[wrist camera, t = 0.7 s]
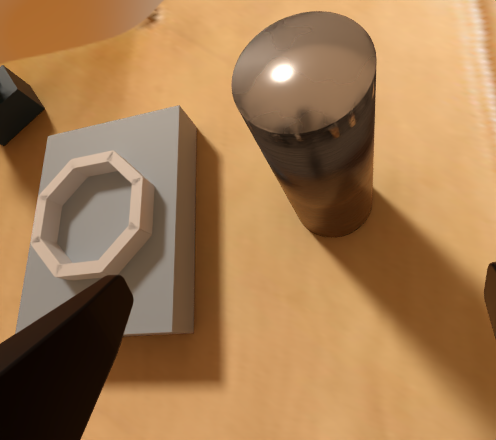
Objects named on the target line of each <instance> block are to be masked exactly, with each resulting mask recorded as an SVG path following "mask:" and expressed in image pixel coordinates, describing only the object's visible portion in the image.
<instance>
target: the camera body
mask: <svg viewBox="0 0 496 440" xmlns="http://www.w3.org/2000/svg"><path fill="white" fill-rule="evenodd" d="M196 132H197V127H196V126H195V124H194V123H193V122H192V121H191V119H190V118H189V117H188V116H187V114H186V113H185V112H184V111H183V109H182V108H181V107H180V106H174V107H170V108H166V109H162V110H157V111H153V112H149V113H145V114H140V115H136V116H132V117H128V118H123V119H119V120H115V121H111V122H106V123H102V124H98V125H94V126H89V127H85V128H81V129H76V130H72V131H68V132H64V133H59V134H55V135H51V136H48V139H47V145H46V151H45V157H44V163H43V169H42V176H41V182H40V188H39V194H38V200H37V206H36V212H35V218H34V224H33V230H32V236H31V242H30V248H29V254H28V260H27V266H26V272H25V278H24V284H23V290H22V296H21V302H20V308H19V314H18V320H17V326H16V332H15V334H16V333H18V332H19V331H21V330H22V329H24V328H25V327H27V326H28V325H30V324H32V323H33V322H35V321H36V320H38V319H39V318H41V317H42V316H44V315H46V314H47V313H49V312H50V311H52V310H53V309H55V308H56V307H58V306H59V305H61V304H63V303H64V302H66V301H67V300H69V299H70V298H72V297H73V296H75V295H77V294H78V293H80V292H81V291H83V290H84V289H86V288H87V287H89V286H91V285H92V284H94V283H95V282H97V281H98V280H100V279H101V278H103V277H104V276H106V275H117V274H118V275H121V276H123V277H124V279H125V281H126V283H127V285H128V287H129V288H130V290H131V292H132V294H133V298H134V302H133V307H132V310H131V313H130V316H129V319H128V322H127V325H126V328H125V332H124V335H123V336H144V335H165V334H185V333H194V276H195V204H196Z"/></svg>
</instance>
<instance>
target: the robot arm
mask: <svg viewBox="0 0 496 440" xmlns="http://www.w3.org/2000/svg"><path fill="white" fill-rule="evenodd" d="M484 299H485V303H486V307H487V310H488V314H489V317H490V321H491V324H492V328H493V331H494V335H495V339H496V262H492V263H490V264H489V266H488V269H487V275H486V282H485V288H484ZM133 302H134V298H133V294H132V292H131V290H130V288H129V287H128V285H127V283H126V281H125V279H124V277H123V276H121V275H118V274H117V275H106V276H104V277H103V278H101V279H100V280H98V281H97V282H95V283H94V284H92V285H91V286H89V287H87V288H86V289H84V290H83V291H81V292H80V293H78V294H77V295H75V296H73V297H72V298H70V299H69V300H67V301H66V302H64V303H63V304H61V305H59V306H58V307H56V308H55V309H53V310H52V311H50V312H49V313H47V314H46V315H44V316H42V317H41V318H39V319H38V320H36V321H35V322H33V323H32V324H30V325H28V326H27V327H25V328H24V329H22V330H21V331H19V332H18V333H16V334H15V335H13V336H11V337H10V338H8V339H7V340H5V341H4V342H2V343H1V344H0V440H80V439H81V437H82V435H83V432H84V430H85V428H86V426H87V423H88V421H89V419H90V416H91V414H92V412H93V409H94V407H95V405H96V402H97V400H98V398H99V395H100V393H101V391H102V388H103V386H104V384H105V381H106V379H107V377H108V374H109V372H110V370H111V367H112V365H113V363H114V360H115V358H116V355H117V353H118V350H119V347H120V344H121V341H122V338H123V335H124V332H125V328H126V325H127V322H128V319H129V316H130V313H131V310H132V307H133Z"/></svg>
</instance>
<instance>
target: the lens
mask: <svg viewBox="0 0 496 440" xmlns="http://www.w3.org/2000/svg"><path fill="white" fill-rule="evenodd" d="M375 91H376V51H375V48H374V44H373V42H372V40H371V38H370V36H369V35H368V33H367V32H366V31H365V30H364V29H363V28H362V27H361V26H360V25H359V24H358V23H356V22H355V21H354V20H352V19H350V18H348V17H346V16H343V15H340V14H336V13H332V12H322V11H316V12H305V13H300V14H296V15H292V16H289V17H286V18H284V19H282V20H279V21H277V22H275V23H274V24H272V25H270V26H268V27H267V28H265V29H264V30H263V31H261V32H260V33H259V34H258V35H257V36H255V37H254V38H253V39H252V40H251V41H250V42H249V44H248V45H247V46H246V47H245V49H244V50H243V52H242V53H241V55H240V56H239V59H238V61H237V63H236V65H235V68H234V71H233V76H232V94H233V98H234V101H235V103H236V106H237V108H238V110H239V111H240V113H241V115H242V117H243V119H244V120H245V122H246V124H247V126H248V128H249V129H250V131H251V133H252V135H253V137H254V138H255V140H256V142H257V144H258V146H259V147H260V149H261V151H262V153H263V155H264V156H265V158H266V160H267V162H268V164H269V165H270V167H271V169H272V171H273V173H274V174H275V176H276V178H277V180H278V182H279V183H280V185H281V187H282V189H283V190H284V192H285V194H286V196H287V198H288V199H289V201H290V203H291V205H292V207H293V208H294V210H295V212H296V214H297V216H298V217H299V219H300V221H301V222H302V224H303V225H304V226H305V227H306V228H307V229H308V230H310V231H311V232H313V233H315V234H317V235H320V236H324V237H340V236H344V235H347V234H350V233H352V232H353V231H355V230H357V229H358V228H359V227H360V226H361V225H362V224H363V223H364V222H365V221H366V219H367V218H368V216H369V214H370V211H371V207H372V190H373V157H374V124H375Z"/></svg>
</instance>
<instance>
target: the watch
mask: <svg viewBox="0 0 496 440" xmlns="http://www.w3.org/2000/svg"><path fill="white" fill-rule="evenodd" d="M44 109H45V108H44V106H43V105H42V103H41V102H40V100H39V99H38V97H37V96H36V94H35V93H34V91H33V90H32V88H31V87H30V85H28V84H27V83H26V82H25V81H23V80H22V79H21V78H19V77H18V76H17V75H15V74H14V73H13V72H11V71H10V70H9V69H7V68H6V67H5V66H3V65H2V66H1V67H0V144H1V145H3V146H5V145H6V144H7V143H8V142H9V141H10V140H11V139H12V138H13V137H14V136H15V135H17V134H18V133H19V132H20V131H21V130H22V129H23V128H24V127H25V126H26V125H27V124H29V123H30V122H31V121H32V120H33V119H34V118H35V117H36V116H37V115H38V114H39V113H41V112H42V111H43V110H44Z"/></svg>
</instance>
